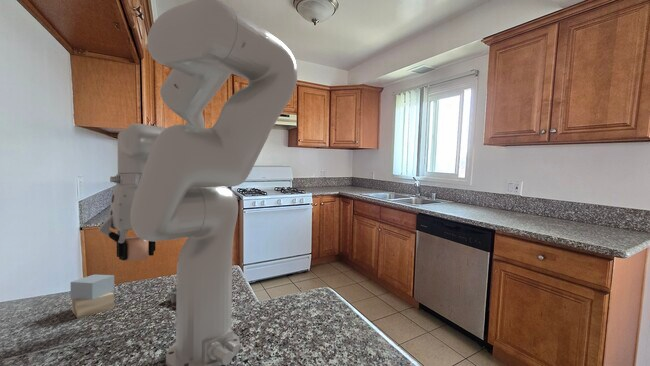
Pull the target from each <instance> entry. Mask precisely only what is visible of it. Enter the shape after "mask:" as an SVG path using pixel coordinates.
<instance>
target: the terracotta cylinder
mask: <svg viewBox="0 0 650 366" xmlns="http://www.w3.org/2000/svg"><path fill="white" fill-rule="evenodd" d="M125 243H127V259H126V260H124V261H123V262H135V261H143V260H146V259H149V257H150V255H149V241H147V240H143V239H141V238H140V237H138V236H137V235H136V236H130V237H126V238H125Z"/></svg>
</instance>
